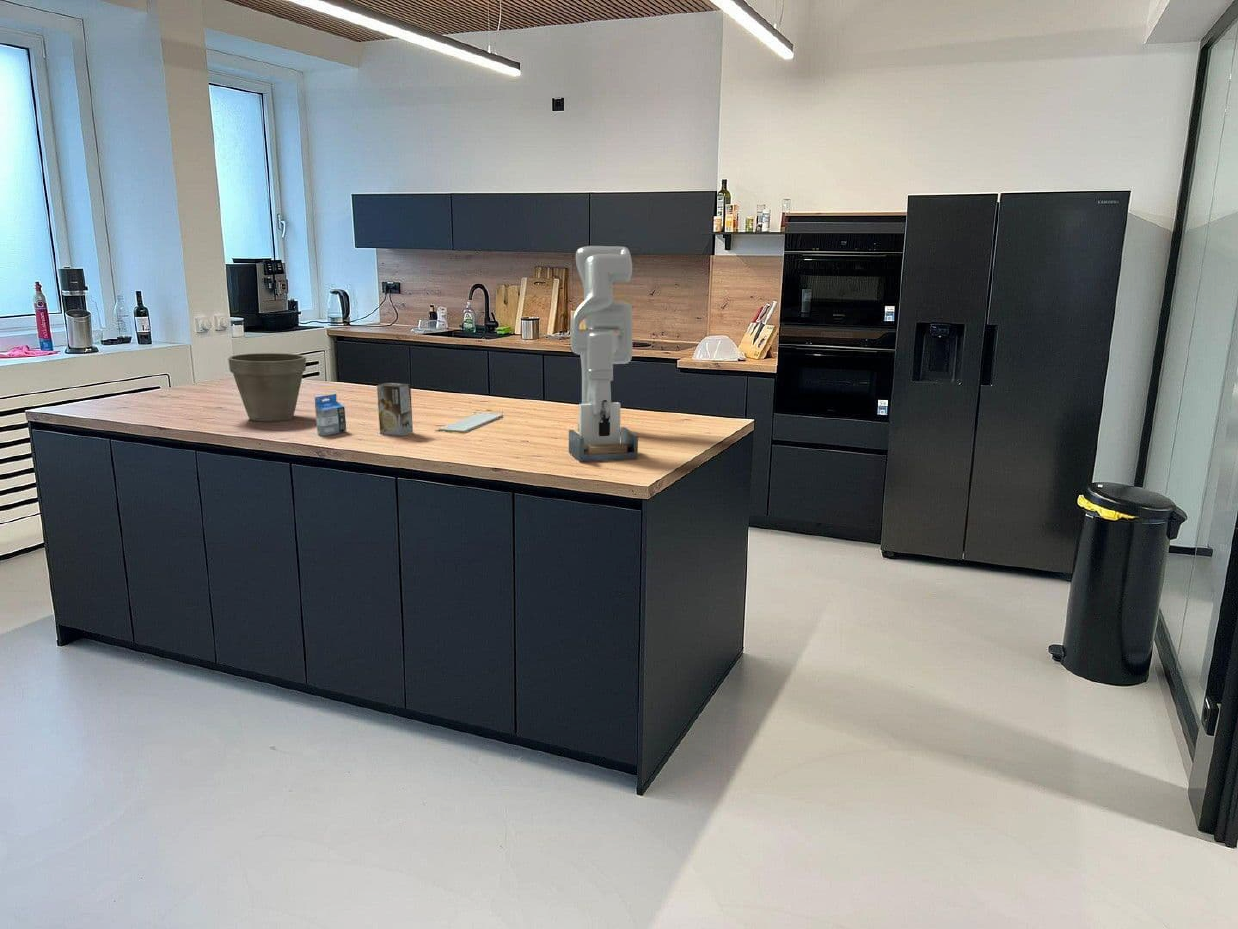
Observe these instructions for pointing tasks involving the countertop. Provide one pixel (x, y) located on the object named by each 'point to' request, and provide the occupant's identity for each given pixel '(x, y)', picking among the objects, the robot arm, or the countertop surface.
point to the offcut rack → (578, 453)
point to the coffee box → (395, 409)
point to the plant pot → (268, 383)
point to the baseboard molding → (470, 422)
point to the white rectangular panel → (591, 425)
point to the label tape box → (329, 415)
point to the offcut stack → (606, 448)
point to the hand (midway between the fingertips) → (599, 432)
